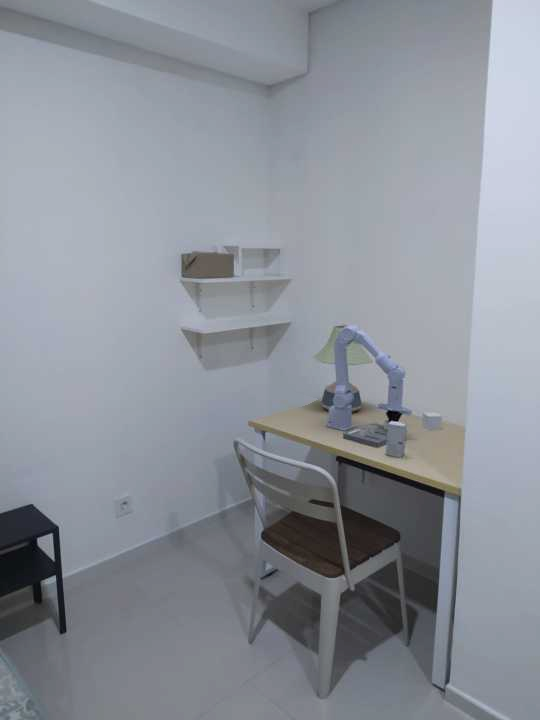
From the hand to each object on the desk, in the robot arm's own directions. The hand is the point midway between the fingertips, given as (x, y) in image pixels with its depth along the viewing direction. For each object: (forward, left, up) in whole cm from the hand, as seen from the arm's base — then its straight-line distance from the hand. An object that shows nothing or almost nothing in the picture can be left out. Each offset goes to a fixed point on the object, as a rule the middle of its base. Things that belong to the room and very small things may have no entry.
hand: (393, 428), depth 227 cm
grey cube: (+6, +22, -3) cm, 23 cm away
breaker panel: (-4, -7, -3) cm, 9 cm away
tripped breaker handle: (-2, 0, 0) cm, 2 cm away
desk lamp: (-39, +18, -3) cm, 43 cm away
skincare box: (+13, -20, -3) cm, 24 cm away
